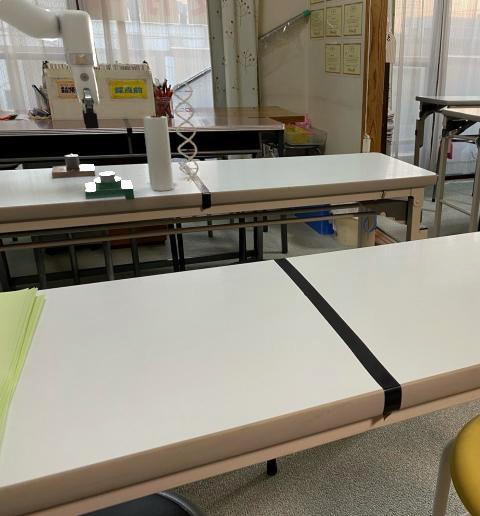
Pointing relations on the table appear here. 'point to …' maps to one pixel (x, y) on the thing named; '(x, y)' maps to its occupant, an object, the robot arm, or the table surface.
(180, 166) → the dna model
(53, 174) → the warmer panel
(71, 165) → the dial
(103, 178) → the button
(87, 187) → the green stepped block
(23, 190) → the table surface
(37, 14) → the robot arm
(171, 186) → the paper towel roll
